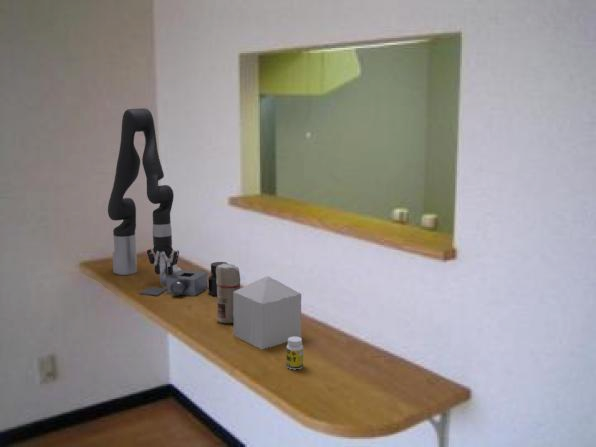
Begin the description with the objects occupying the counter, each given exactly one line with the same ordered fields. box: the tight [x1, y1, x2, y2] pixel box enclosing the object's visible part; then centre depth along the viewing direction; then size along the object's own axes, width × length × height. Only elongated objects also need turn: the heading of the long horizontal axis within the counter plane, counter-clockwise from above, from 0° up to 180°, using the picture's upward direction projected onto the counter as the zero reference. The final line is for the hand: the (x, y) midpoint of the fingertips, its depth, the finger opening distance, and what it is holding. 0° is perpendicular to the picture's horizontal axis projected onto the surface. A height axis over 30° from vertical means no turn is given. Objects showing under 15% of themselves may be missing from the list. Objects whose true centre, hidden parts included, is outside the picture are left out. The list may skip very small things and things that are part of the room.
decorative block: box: [232, 275, 302, 350], centre depth 190 cm, size 16×16×20 cm
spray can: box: [216, 263, 241, 324], centre depth 204 cm, size 8×8×20 cm
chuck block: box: [166, 269, 209, 297], centre depth 238 cm, size 12×16×6 cm
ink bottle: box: [207, 261, 229, 297], centre depth 236 cm, size 10×9×12 cm
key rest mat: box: [138, 286, 167, 297], centre depth 238 cm, size 8×8×1 cm
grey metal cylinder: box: [159, 252, 169, 287], centre depth 247 cm, size 3×3×15 cm
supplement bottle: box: [285, 336, 304, 371], centre depth 169 cm, size 5×5×8 cm
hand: (164, 274), depth 248 cm, fingers open, 5 cm apart
